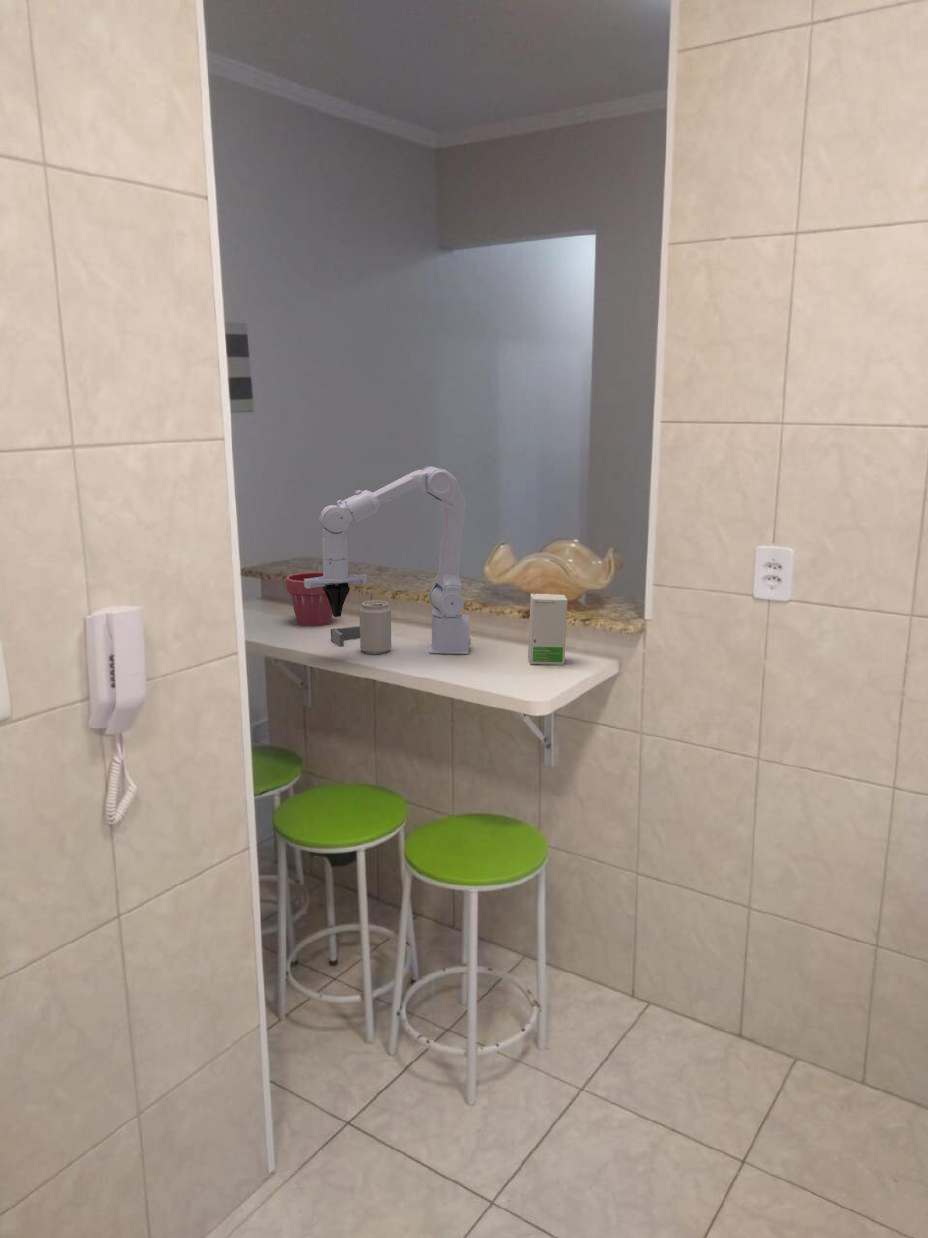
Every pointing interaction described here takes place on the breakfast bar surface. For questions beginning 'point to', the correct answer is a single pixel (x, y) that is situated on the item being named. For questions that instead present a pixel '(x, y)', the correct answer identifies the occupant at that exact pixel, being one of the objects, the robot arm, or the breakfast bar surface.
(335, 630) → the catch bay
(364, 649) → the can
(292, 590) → the plant pot
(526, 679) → the breakfast bar surface
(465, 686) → the breakfast bar surface
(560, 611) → the skincare box
